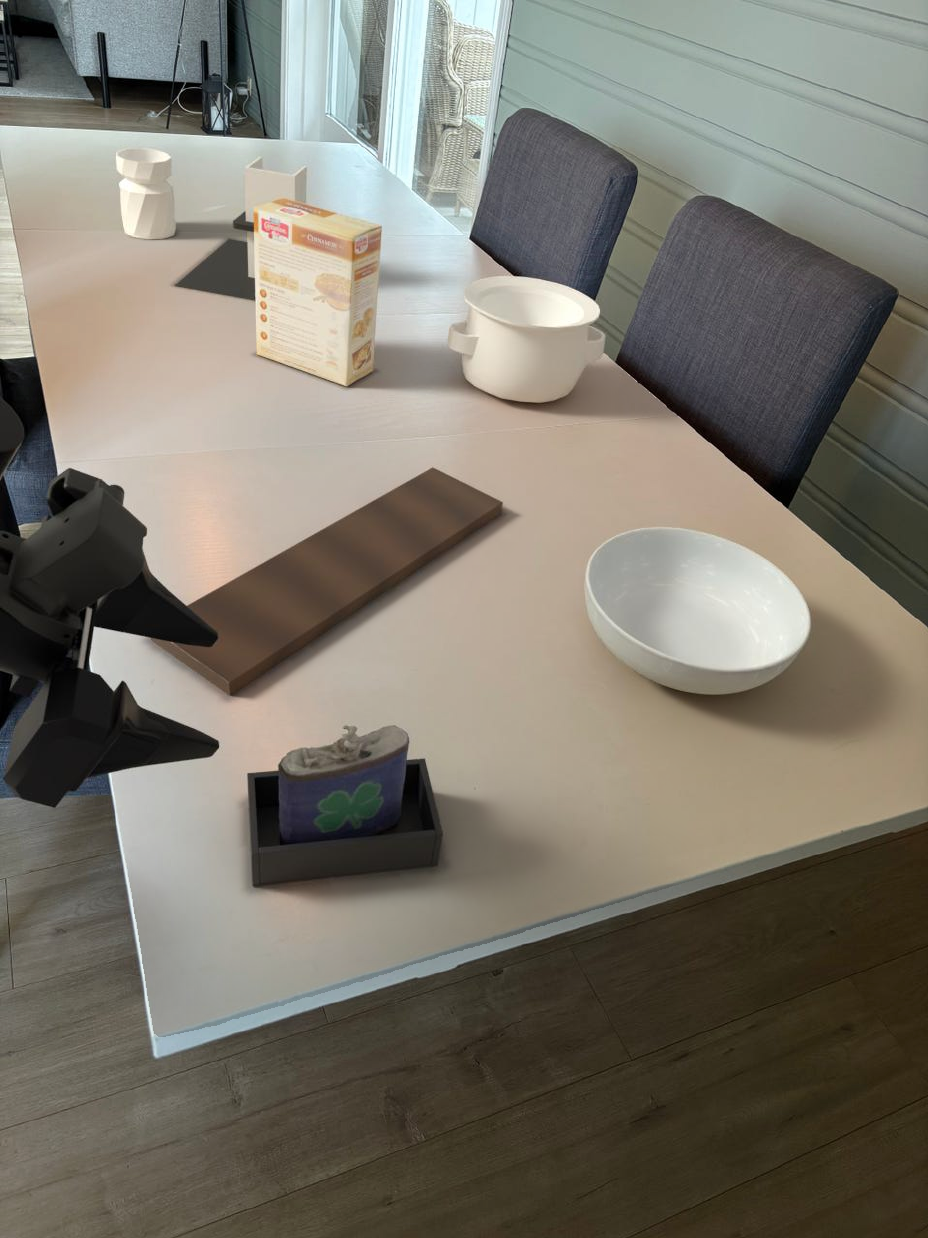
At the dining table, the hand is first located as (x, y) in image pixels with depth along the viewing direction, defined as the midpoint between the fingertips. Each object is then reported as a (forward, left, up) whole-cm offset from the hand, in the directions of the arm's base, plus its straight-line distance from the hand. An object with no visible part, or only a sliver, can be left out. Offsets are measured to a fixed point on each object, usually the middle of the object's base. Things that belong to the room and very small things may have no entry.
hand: (215, 691), depth 54 cm
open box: (+8, 0, -16) cm, 18 cm away
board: (+11, +33, -16) cm, 38 cm away
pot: (+39, +74, -16) cm, 86 cm away
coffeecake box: (+11, +79, -16) cm, 82 cm away
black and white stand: (+7, +112, -16) cm, 114 cm away
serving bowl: (+42, +19, -16) cm, 49 cm away
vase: (-14, +129, -16) cm, 131 cm away
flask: (+8, 0, -16) cm, 18 cm away
